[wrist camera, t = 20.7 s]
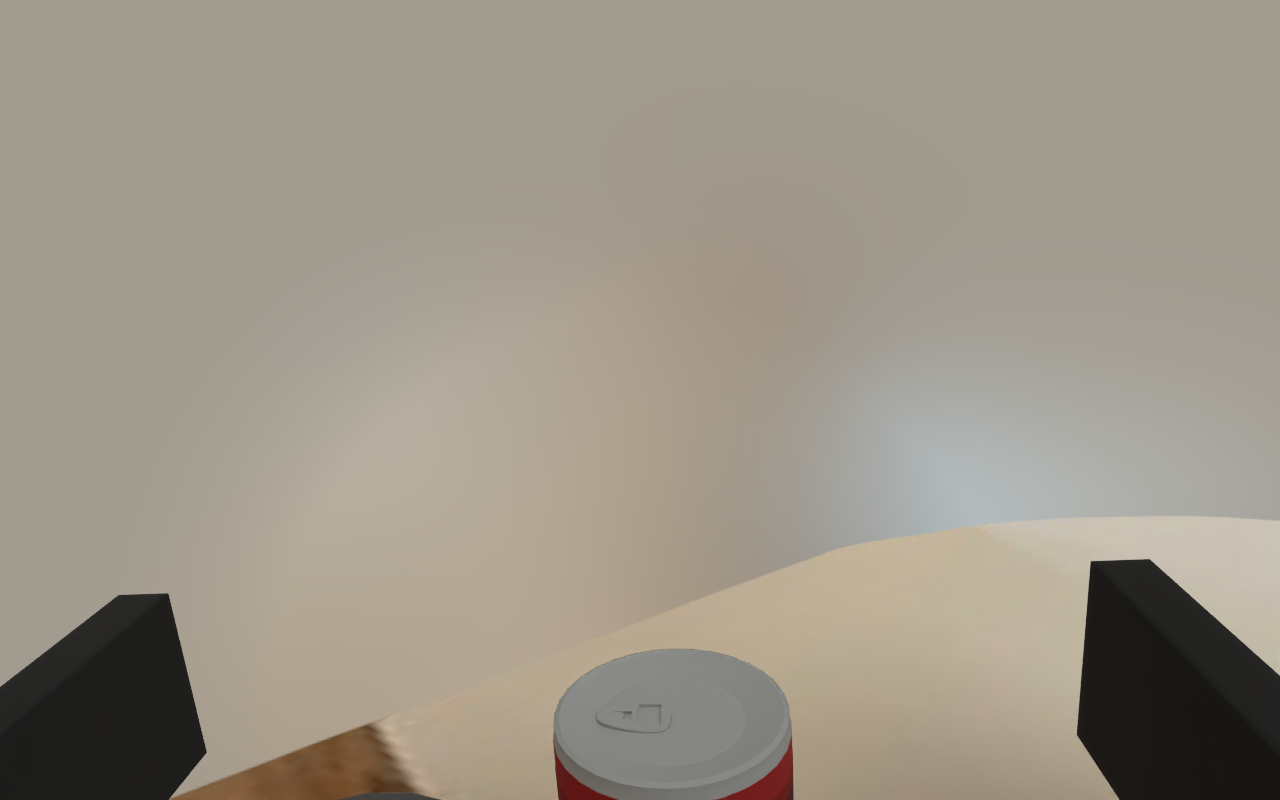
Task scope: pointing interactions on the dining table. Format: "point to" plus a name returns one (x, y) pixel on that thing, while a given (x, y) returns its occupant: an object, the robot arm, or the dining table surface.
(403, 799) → the dark bowl
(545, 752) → the dining table surface
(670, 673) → the canned food
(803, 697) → the dining table surface
